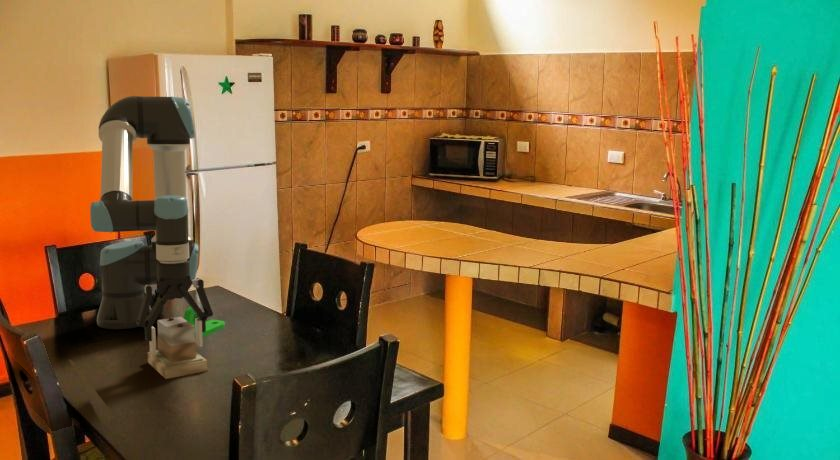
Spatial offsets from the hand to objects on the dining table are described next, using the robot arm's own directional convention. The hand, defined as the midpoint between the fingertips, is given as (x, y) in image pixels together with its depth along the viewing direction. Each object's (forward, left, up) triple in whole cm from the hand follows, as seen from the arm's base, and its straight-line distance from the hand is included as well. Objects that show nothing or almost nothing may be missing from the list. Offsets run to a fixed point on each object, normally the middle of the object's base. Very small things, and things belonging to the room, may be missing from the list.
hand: (176, 349), depth 181 cm
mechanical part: (-24, +16, -5) cm, 29 cm away
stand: (0, 0, -4) cm, 4 cm away
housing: (0, 0, -1) cm, 1 cm away
